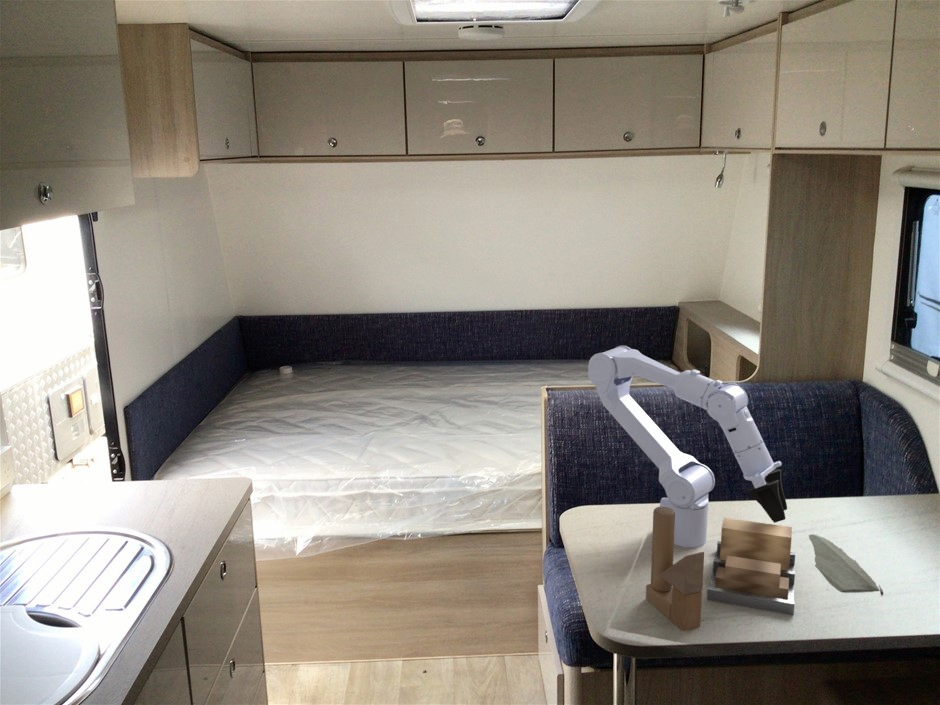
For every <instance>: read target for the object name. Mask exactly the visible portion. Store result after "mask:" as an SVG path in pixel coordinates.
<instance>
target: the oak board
mask: <svg viewBox="0 0 940 705" xmlns="http://www.w3.org/2000/svg"><path fill="white" fill-rule="evenodd" d="M792 528H793V527H792V526H786V525H778V524H773V523H766V522H765V523H764V522H758V521H750V520H743V519H736V518H729V517H723V521H722V525H721V534H720V536H721V537H720V542H721V550H720V560H725V561H726V559H727V555H728V556H734V557H741V558H747V559H753V560H760V561H766V562H773V563H779V564H781V569H782V570H788V571H789V563H790V552H792V550H791V549H792V547H791V546H792V539H793V538H792V532H793V531H792V530H793V529H792Z"/></svg>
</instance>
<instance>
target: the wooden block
mask: <svg viewBox="0 0 940 705" xmlns="http://www.w3.org/2000/svg"><path fill="white" fill-rule="evenodd" d="M652 513H653V514H652V540H651V542H652V543H651V563H650V564H651V568H650V570H651V571H650V574H651V575H650V583H648V584H646V587H645V600H646V602H648V603H649V604H650V605H651V606H653V607H654V608H655V609H656V610H657V611H658V612H659V613H661V614H662V615H663V616H665V617H666V618H667V619H668V620H670V622H671V623H672V624H674V625H675V626H676V627H677V628H678V629H680V630H681V631H682V632H685V631H689V630H693V629H697V628H700V627H701V622H702V621H701V618H702V600H703V598H702V597H703V593H702V591H703V584H704V582H703V581H704V580H703V579H704V567H705V565H704V563H705V551H701V552H696V553H692V554H688V555H685V556H684V557H683V558H681V559H680V560H678V561H677V562H675V563H674V553H675V552H674V549H675V544H674V530H675V511H674V510H673V509H671V508H669V507H660V506H658V507H657V506H656V507H655V508H654V509H653V511H652Z"/></svg>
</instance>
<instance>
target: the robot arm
mask: <svg viewBox="0 0 940 705" xmlns="http://www.w3.org/2000/svg"><path fill="white" fill-rule="evenodd" d="M587 369H588V370H587V378H588V379H589V381H591V383H592V384H593V385H594V386H595V389H596V391H597V393H598V396H599V399H600V401H601V404H602V405H603V406H604V408H605V409H606V410H607V411H608V413H609V414H611V416H612V417H613V418H614V419H615V420H616V421H617V422H618V424H619V425H620V426H621V427H622V428H623V429H624V430H625V432H626V433H627V434H628V435H629V436H630V437H631V438H632V440H633V441H634V442H635V443H636V445H637V446H639V448H640V449H641V450H642V451H643V452H644V454H646V456H647V458H649V459H650V460H651V462H652V463H653V464H654V465H655V466H656V468H658V470H659V471H658V472H659V473H658V482H659V483H660V484H661V485H662V487H663V489H664V491H665V494H666V496H667V497H661V499H660V502H659V507H669V508H671V509H673V510H674V511H675V530H674V546H675V545H676V546H679V547H682V548H690V549H691V548H692V549H693V548H700V547H703V546H704V545H705V544H707V535H708V533H707V532H708V512H709V493H710V492H711V491H712V490H713V489H714V487H715V484H716V479H715V474H714V472H713V471H712V470H711V469H710V467H708V466H707V465H706V464H703V463H701V462H699V461H698V460H697V459H696V458H695V457H694V456H692V455H691V454H687V453H684V452H682V451H680V450H679V448H677V446H676V445H675V444H674V443H673V441H671V440H670V439H669V437H668V436H667V435H666V434H665V433H664V432H663V431H662V429H660V427H659V426H658V425H657V424H656V423H655V421H653V420H652V418H651V417H650V416H649V415H648V414H647V413H646V412H645V410H643V408H642V407H641V406H640V405H639V404H638V403H637V401H636V400H635V399H634V398H633V397H632V396H631V395H630V388H631V387H630V386H631V383H632V382H633V381H632V380H633V379H634V378H633V377H635V376H638V377H640V378H643V379H646V380H649V381H652V382H654V383H657V384H660V385H663V386H665V387H668V388H670V389H672V390H673V392H674V395H675V397H677V398H679V399H680V400H683V401H686V402H688V403H690V404H692V405H693V406H697V407H699V408H701V409H704V410H706V412H707V414H708V416H710V418H712V419H713V420H715V421H716V422H717V423H718V424H719V426H720V428H721V429H722V430H723V432H724V435H725V437H726V439H727V441H728V443H729V446H730V448H731V450H732V452H733V454H734V457H735V459H736V461H737V463H738V465H739V467H740V469H741V472H742V473H743V476H742V477H743V478H744V479H745V480H746V481H751V483H752V485H753V486H752V487H749V488H747V491H746V492H747V494H748V496H750V497H752V499H754V500H755V501H756V502H757V503H758V504H759V505H760V506H761V508H762V509H763V510H764V511H765V513H766V514H767V516H768V517H769V518H770V519H771V521H772V522H773V523H774V524H775V523H778V522H782V521H784V520H786V514H785V511H786V510H788V504H787V500H786V497H785V493H784V490H783V485H782V470H781V468H779V467H781V466H782V462H781V461H780V460H778V461H776V462H774V461H773V459H772V457H771V455H770V452H769V450H768V448H767V447H766V443H765V442H764V440H763V437H762V435H761V433H760V431H759V429H758V426H757V425H756V423H755V420H754V418H753V416H752V415H751V413H750V411H749V408H748V407H747V406H748V405H749V397H748V394H747V392H746V390H745V389H744V388H743V387H741V386H739V385H738V384H737V383H736V382H729V383H726V384H723V381H722V380H719V379H717V380H714V379H713V378H710V377H706V376H704V375H702V374H700V373H701V371H700V370H697V369H695V368H694V369H692V370H690V369H686V370H683V371H682V372H679V371H677V370H676V369H673V368H671V367H668V366H667V365H664V364H663V363H661V362H659V361H657V360H654V359H652V358H650V357H648V356H646V355H644V354H642V353H641V352H640V351H639V350H638V349H634V348H631V347H629V346H627V345H618V346H616V347H615V348H612V349H609V350H606V351H604V352H598V353H595V354H593V355H592V356H591V357H590V359H589V361H588V366H587ZM777 468H779V469H777Z"/></svg>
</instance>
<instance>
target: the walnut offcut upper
mask: <svg viewBox="0 0 940 705" xmlns="http://www.w3.org/2000/svg"><path fill="white" fill-rule="evenodd" d="M780 569H781V564H779V563H773V562H766V561H760V560H753V559H747V558H741V557H734V556H728V555H727V559H726V565H725V579H730V580H736V581H742V582H747V583H753V584H759V585H765V586H771V587H777V588H779V584H780Z"/></svg>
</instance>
